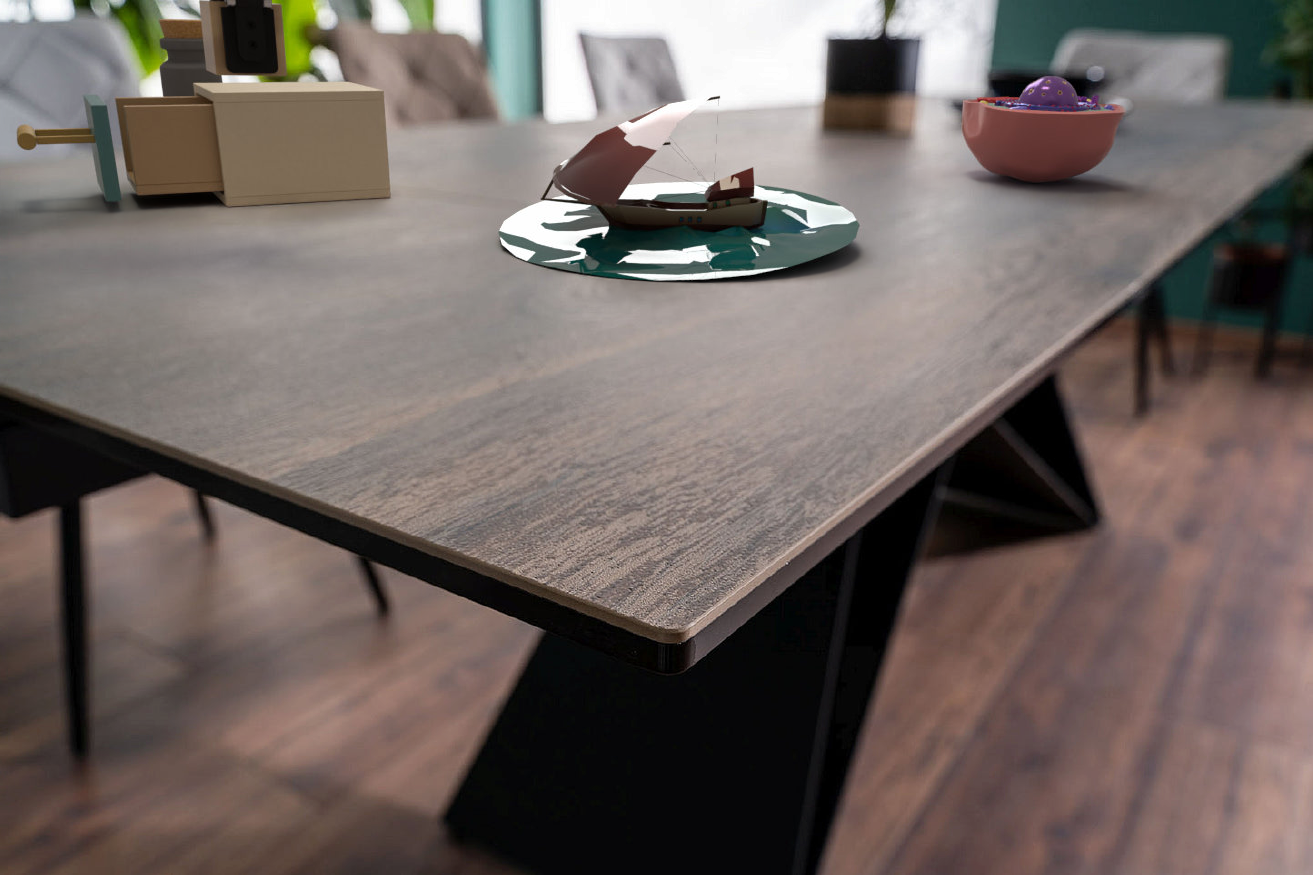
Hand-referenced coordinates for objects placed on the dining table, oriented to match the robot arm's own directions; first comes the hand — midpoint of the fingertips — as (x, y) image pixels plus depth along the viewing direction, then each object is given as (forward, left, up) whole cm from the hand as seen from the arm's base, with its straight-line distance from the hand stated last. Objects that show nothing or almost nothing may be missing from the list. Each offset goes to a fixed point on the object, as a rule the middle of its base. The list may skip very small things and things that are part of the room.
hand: (245, 67), depth 73 cm
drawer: (-18, +20, -12) cm, 30 cm away
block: (0, 0, 0) cm, 0 cm away
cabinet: (-8, +27, -13) cm, 31 cm away
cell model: (+68, +51, -13) cm, 86 cm away
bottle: (-22, +38, -13) cm, 45 cm away
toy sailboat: (+29, +9, -13) cm, 33 cm away
